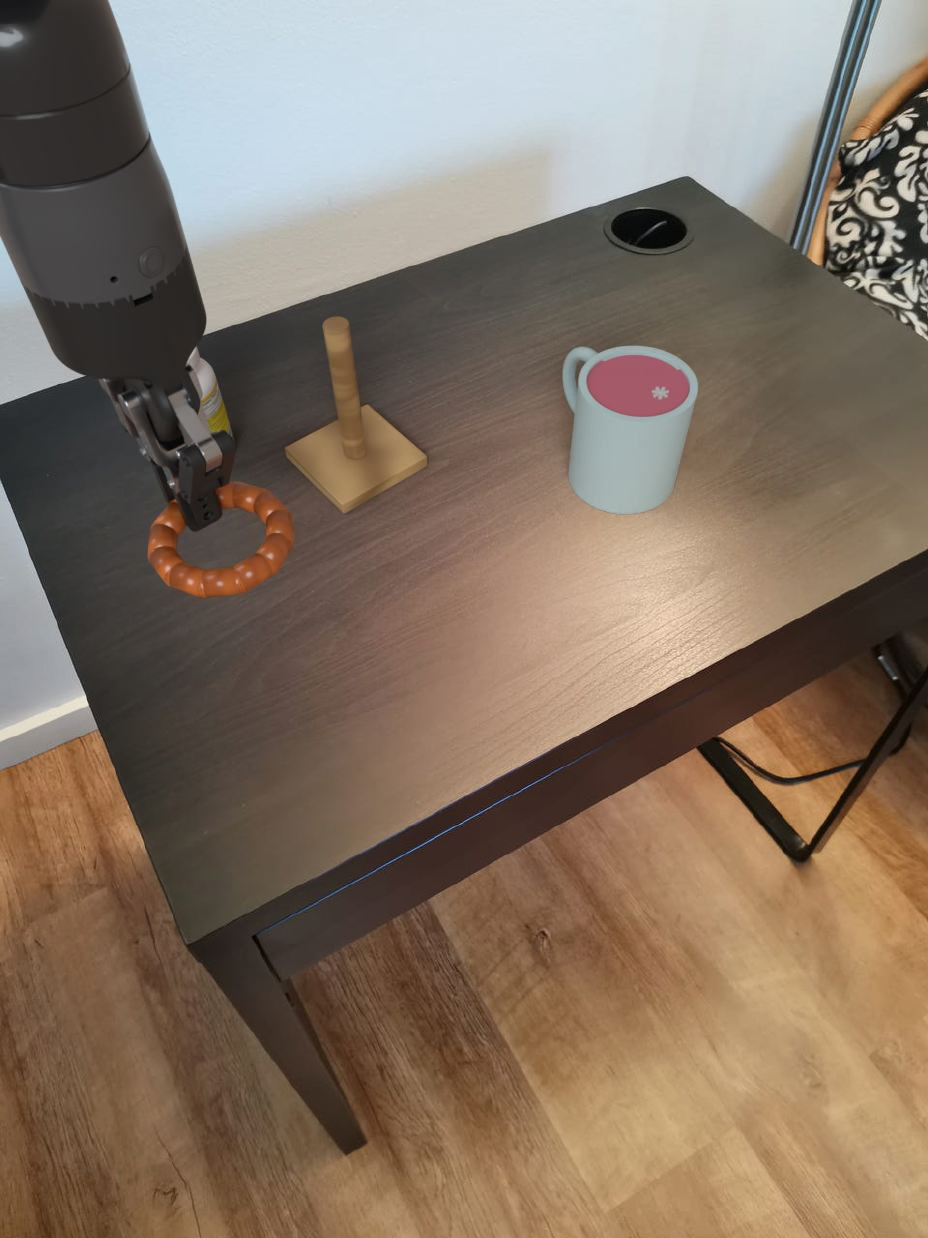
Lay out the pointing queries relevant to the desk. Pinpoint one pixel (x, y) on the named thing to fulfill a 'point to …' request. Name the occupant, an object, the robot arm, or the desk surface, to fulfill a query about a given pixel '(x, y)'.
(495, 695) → the desk surface
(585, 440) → the mug
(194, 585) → the ring
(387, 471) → the stand
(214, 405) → the pill bottle
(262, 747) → the desk surface
